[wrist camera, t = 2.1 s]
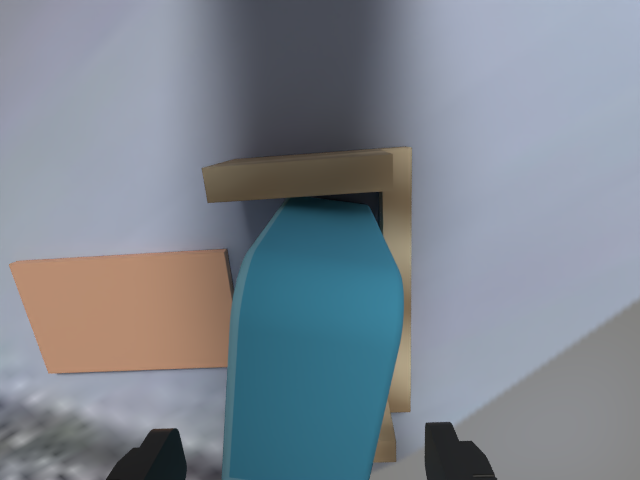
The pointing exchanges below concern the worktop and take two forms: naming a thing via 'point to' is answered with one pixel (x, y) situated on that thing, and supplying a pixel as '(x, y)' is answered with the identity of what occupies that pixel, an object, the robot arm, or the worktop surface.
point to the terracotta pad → (129, 310)
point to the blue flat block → (311, 345)
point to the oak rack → (329, 179)
